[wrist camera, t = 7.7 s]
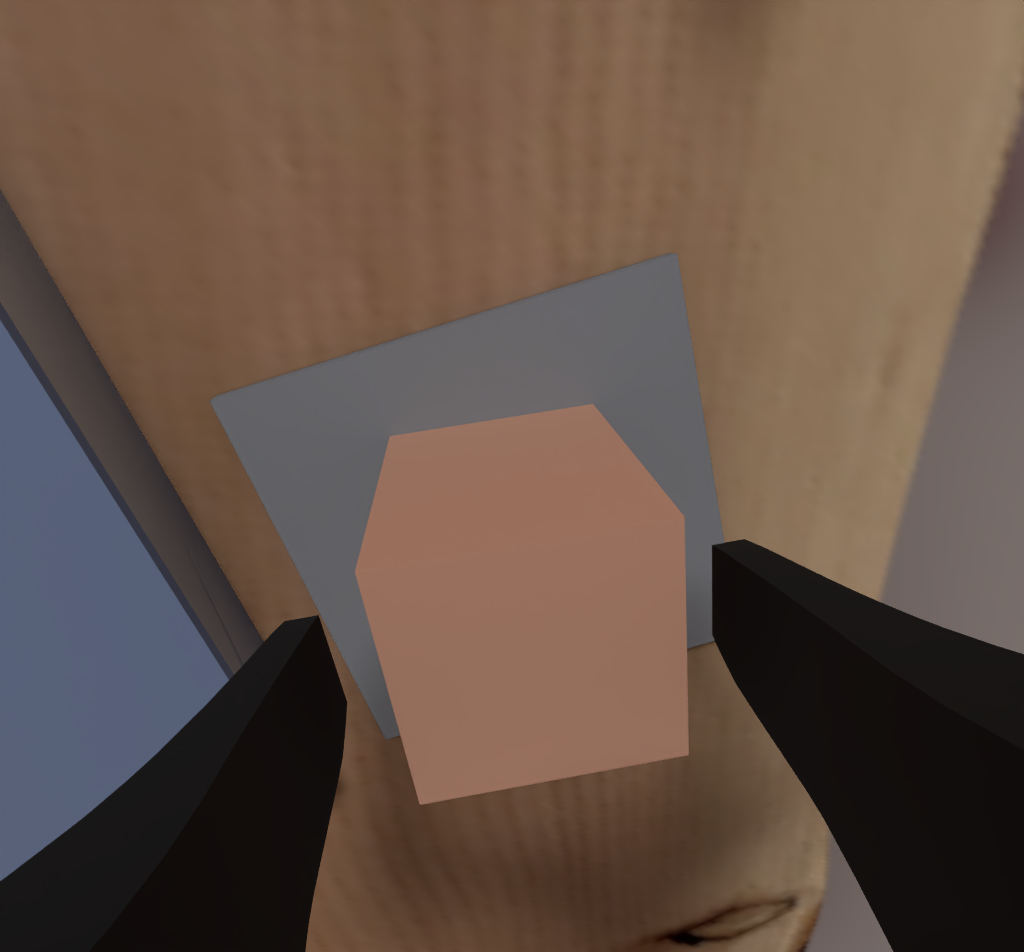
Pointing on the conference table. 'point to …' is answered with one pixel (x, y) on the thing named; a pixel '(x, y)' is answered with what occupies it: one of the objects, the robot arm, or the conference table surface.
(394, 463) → the terracotta block
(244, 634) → the navy book
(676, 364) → the felt mat
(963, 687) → the robot arm
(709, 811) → the conference table surface
